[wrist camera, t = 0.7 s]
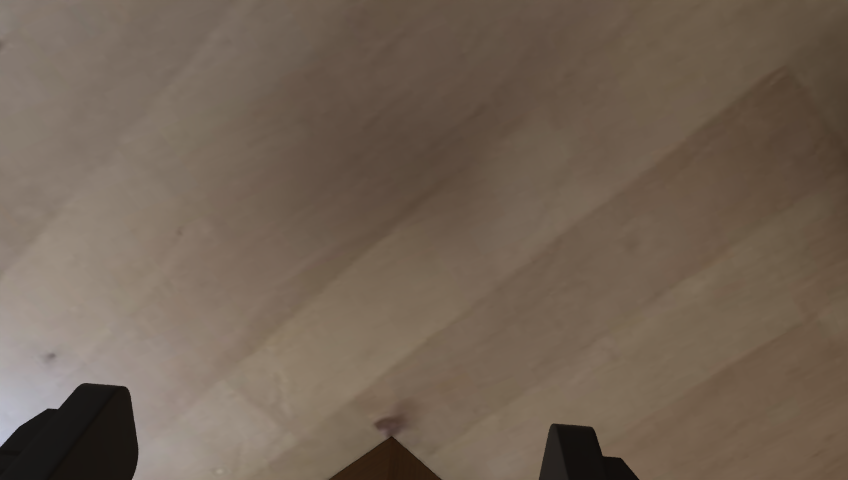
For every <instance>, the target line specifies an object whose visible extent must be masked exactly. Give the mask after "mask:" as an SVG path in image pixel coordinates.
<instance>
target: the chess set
mask: <svg viewBox="0 0 848 480" xmlns="http://www.w3.org/2000/svg"><path fill="white" fill-rule="evenodd" d="M330 480H440V479H439V478H438V477H437V476H436V475H435V474H434V473H432V472H431V471H430V470H429V469H428V468H427V467H426V466H424V465H423V464H422V463H421V462H420V461H419V460H418V459H416V458H415V457H414V456H413V455H412V454H411V453H410V452H408V451H407V450H406V449H405V448H404V447H403V446H402V445H400V444H399V443H398V442H397V441H396V440H395V439H394V438H392V437H391V438H389V439H388V440H386V441H385V442H384V443H382V444H381V445H379V446H378V447H376V448H375V449H373V450H372V451H370V452H369V453H368V454H366V455H365V456H363V457H362V458H360V459H359V460H357V461H356V462H354V463H353V464H351V465H350V466H349V467H347V468H346V469H344V470H343V471H341V472H340V473H338V474H337V475H335V476H334V477H333V478H331V479H330Z"/></svg>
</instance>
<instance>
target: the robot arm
mask: <svg viewBox="0 0 848 480" xmlns="http://www.w3.org/2000/svg"><path fill="white" fill-rule="evenodd" d="M137 461H138V442H137V436H136V429H135V422H134V416H133V409H132V402H131V396H130V392H129V390H128V389H127V388H126V387H124V386H115V385H103V384H91V383H83V384H81V385H80V386H78V387H77V388H76V389H75V390H74V392H73V393H72V394H71V395H70V396H69V397H68V398H67V400H66V401H65V402H64V403H63V404H62V405H61V407H60V408H59V409H46V410H45V411H43V412H42V413H40V414H39V415H37V416H35V417H34V418H32V419H31V420H29V421H28V422H26V423H24V424H23V425H21V426H20V427H18V429H17V430H16V431H15V432H14V433H13V434H12V435H11V436H10V437H9V438H8V439H7V441H6V442H5V443H4V444H3V445H2V446H1V447H0V480H132V478H133V476H134V473H135V470H136V466H137ZM539 480H639V479H638V477H637V476H636V475H635V474H634V473H633V472H632V470H631V469H630V468H629V467H628V466H627V465H626V463H625V462H624V461H623V460H622V459H621V458H616V457H604V456H603V455H602V452H601V449H600V446H599V443H598V440H597V436H596V433H595V431H594V429H593V428H592V427H588V426H577V425H565V424H552V425H551V426H550V429H549V433H548V438H547V443H546V448H545V452H544V457H543V462H542V467H541V472H540V477H539Z"/></svg>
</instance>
